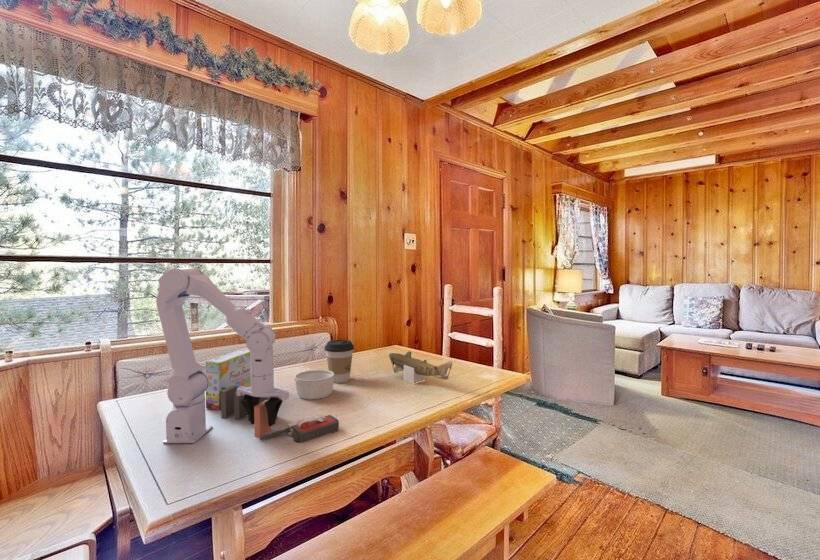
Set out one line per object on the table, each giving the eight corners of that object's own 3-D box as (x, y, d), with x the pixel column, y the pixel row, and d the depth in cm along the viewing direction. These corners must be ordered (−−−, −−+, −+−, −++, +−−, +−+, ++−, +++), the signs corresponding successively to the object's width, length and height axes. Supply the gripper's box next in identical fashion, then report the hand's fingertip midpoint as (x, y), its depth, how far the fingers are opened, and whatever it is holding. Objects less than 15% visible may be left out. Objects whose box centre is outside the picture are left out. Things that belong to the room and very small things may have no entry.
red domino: (271, 429, 104) (270, 400, 103) (260, 437, 99) (259, 407, 99) (266, 428, 104) (265, 399, 104) (254, 436, 99) (254, 406, 99)
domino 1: (237, 411, 116) (237, 386, 115) (226, 418, 111) (225, 391, 110) (233, 411, 116) (232, 385, 116) (221, 417, 111) (220, 391, 111)
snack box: (221, 410, 117) (219, 362, 116) (205, 409, 118) (203, 361, 117) (261, 388, 138) (260, 347, 137) (247, 387, 139) (246, 346, 138)
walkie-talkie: (328, 420, 110) (258, 442, 97) (327, 405, 110) (257, 425, 97) (343, 430, 104) (271, 455, 91) (343, 414, 104) (271, 437, 90)
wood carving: (442, 397, 128) (442, 364, 128) (381, 373, 155) (381, 346, 155) (460, 391, 134) (460, 360, 134) (399, 369, 161) (399, 343, 160)
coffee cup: (349, 386, 140) (348, 345, 139) (319, 384, 142) (319, 344, 141) (358, 376, 151) (358, 339, 150) (330, 375, 153) (330, 338, 152)
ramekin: (313, 386, 140) (313, 367, 140) (342, 391, 134) (342, 372, 134) (286, 397, 128) (286, 376, 128) (316, 404, 122) (316, 382, 122)
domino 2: (250, 413, 115) (250, 387, 114) (239, 420, 110) (238, 392, 109) (246, 412, 115) (245, 386, 115) (234, 419, 110) (234, 392, 110)
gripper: (294, 371, 103) (295, 420, 104) (248, 367, 106) (249, 415, 107) (279, 379, 96) (280, 431, 97) (230, 374, 100) (231, 425, 100)
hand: (263, 423), depth 101 cm, fingers open, 5 cm apart
